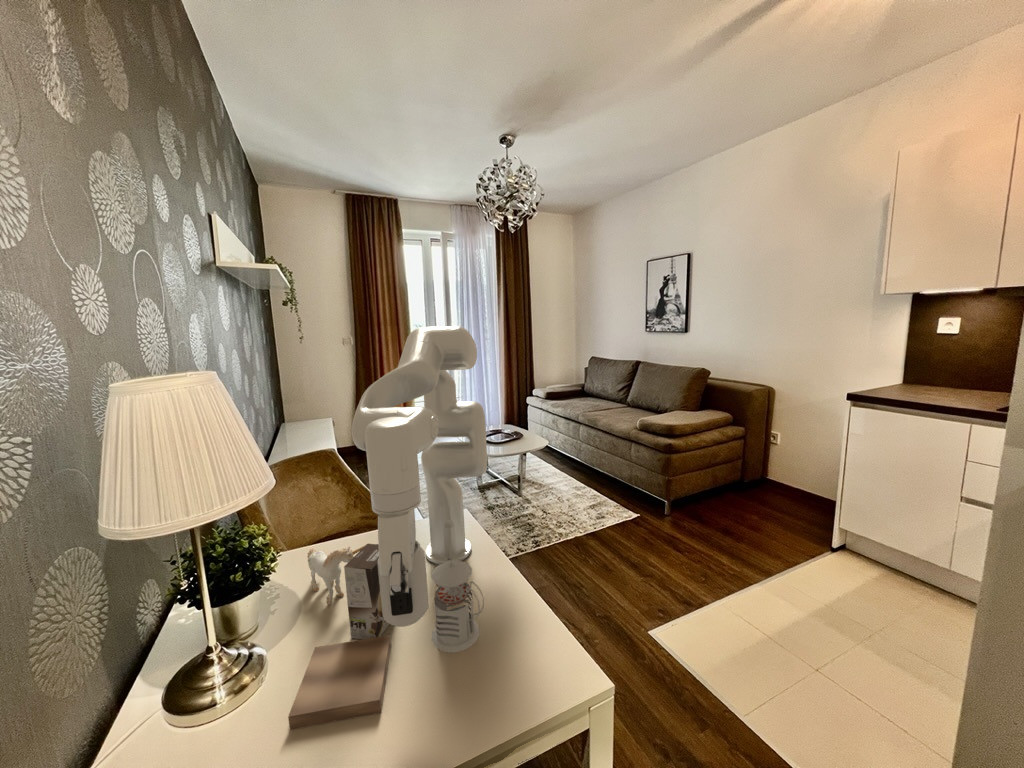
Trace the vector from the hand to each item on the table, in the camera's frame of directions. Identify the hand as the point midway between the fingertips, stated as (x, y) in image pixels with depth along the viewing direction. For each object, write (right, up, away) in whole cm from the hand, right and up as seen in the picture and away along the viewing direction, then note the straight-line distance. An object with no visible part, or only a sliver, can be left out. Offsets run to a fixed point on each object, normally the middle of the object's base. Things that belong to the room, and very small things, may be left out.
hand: (404, 594), depth 66 cm
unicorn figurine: (-24, -15, +32) cm, 43 cm away
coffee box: (-11, -17, +20) cm, 28 cm away
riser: (-12, -19, +6) cm, 23 cm away
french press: (+7, -17, +16) cm, 24 cm away
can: (0, -4, +1) cm, 4 cm away
